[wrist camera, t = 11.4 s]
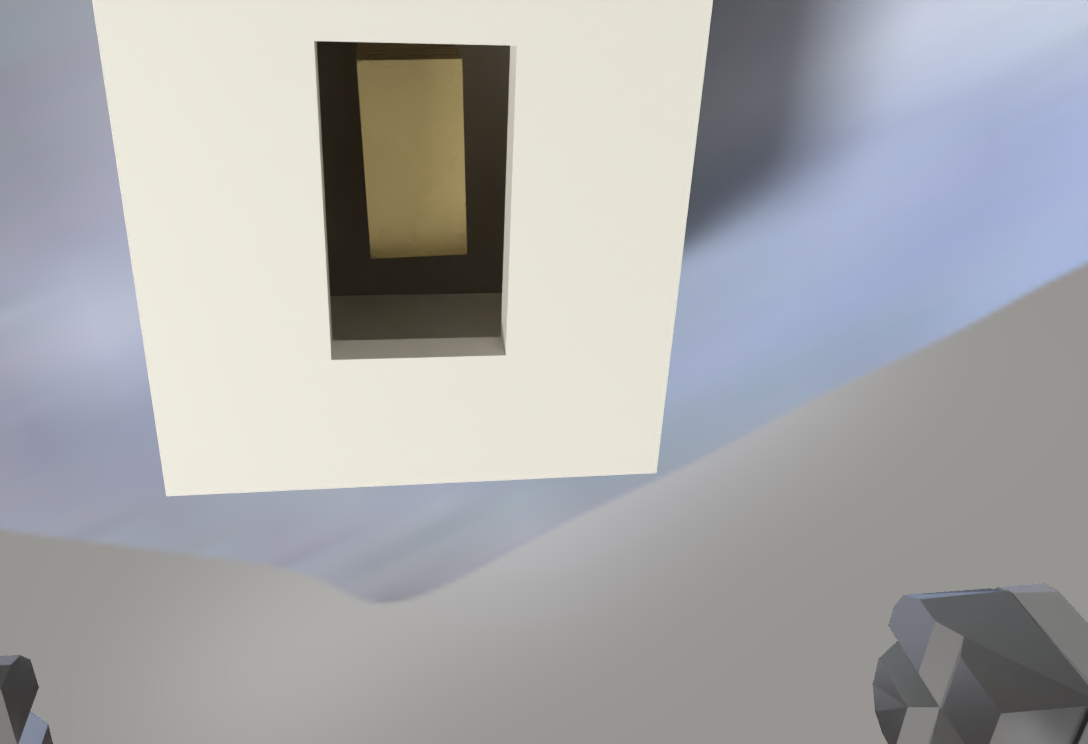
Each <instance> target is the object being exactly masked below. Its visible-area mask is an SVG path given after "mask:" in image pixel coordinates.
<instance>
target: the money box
mask: <svg viewBox="0 0 1088 744" xmlns="http://www.w3.org/2000/svg"><path fill="white" fill-rule="evenodd" d="M92 3H93V9H94V16H95V23H96V29H97V36H98V43H99V49H100V56H101V63H102V69H103V76H104V83H105V89H106V96H107V103H108V109H109V116H110V123H111V129H112V136H113V143H114V149H115V156H116V163H117V170H118V176H119V183H120V190H121V196H122V203H123V210H124V216H125V223H126V230H127V236H128V243H129V250H130V256H131V263H132V270H133V276H134V283H135V290H136V296H137V303H138V310H139V316H140V323H141V330H142V336H143V343H144V350H145V357H146V363H147V370H148V377H149V383H150V390H151V397H152V403H153V410H154V417H155V423H156V430H157V437H158V443H159V450H160V457H161V463H162V470H163V477H164V483H165V490H166V496H182V495H203V494H224V493H245V492H266V491H287V490H308V489H329V488H350V487H371V486H392V485H413V484H434V483H455V482H476V481H497V480H518V479H539V478H560V477H581V476H602V475H623V474H644V473H656V472H657V463H658V455H659V447H660V438H661V430H662V422H663V413H664V405H665V397H666V388H667V380H668V372H669V363H670V355H671V347H672V338H673V330H674V322H675V313H676V305H677V297H678V288H679V280H680V272H681V263H682V255H683V247H684V238H685V230H686V222H687V213H688V205H689V197H690V189H691V180H692V172H693V164H694V155H695V147H696V139H697V130H698V122H699V114H700V105H701V97H702V89H703V80H704V72H705V64H706V55H707V47H708V39H709V30H710V22H711V14H712V5H713V0H92ZM357 42H378V43H421V44H456V46H457V48H458V51H459V53H460V55H461V57H462V72H463V112H464V152H465V192H466V232H467V254H463V255H441V256H419V257H398V258H376V259H371V254H370V240H369V226H368V212H367V199H366V185H365V171H364V157H363V144H362V130H361V116H360V102H359V88H358V75H357V61H356V60H357Z"/></svg>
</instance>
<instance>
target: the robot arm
mask: <svg viewBox="0 0 1088 744" xmlns="http://www.w3.org/2000/svg"><path fill="white" fill-rule="evenodd" d="M888 626H889V627H890V629H891V631H892V632H893V634H894V636H895V637H896V639H897V640H898V641H897V642H896V643H895V644H894V645H893V646H892V647H891V648H890V649H889V650H887V651H886V653H884V654H883V655H882V656H881V657H880V658H879V660H878V664H877V668H876V672H875V677H874V681H873V693H874V704H875V713H876V716H877V719H878V722H879V725H880V728H881V731H882V733H883V735H884V737H885V739H886V741H887V743H888V744H1088V623H1087V622H1086V621H1085V620H1084V619H1083V618H1082V616H1081V615H1080V614H1079V613H1078V612H1077V611H1076V610H1075V609H1074V607H1073V606H1072V605H1071V604H1070V603H1069V602H1068V601H1067V600H1066V599H1065V597H1064V596H1063V595H1062V594H1061V593H1060V592H1059V591H1057V590H1056V589H1054V588H1052V587H1050V586H1048V585H1046V584H1044V583H1043V584H1032V585H1019V586H1007V587H997V588H995V589H989V588H988V589H975V590H963V591H949V592H936V593H923V594H910V595H903V596H902V598H901V599H900V600H899V601H898V602H897V603H896V604H895V606H894V608H893V611H892V615H891V618H890V621H889V625H888ZM38 688H39V686H38V683H37V679H36V676H35V673H34V670H33V666H32V663H31V660H30V659H28V658H26V657H24V656H21V655H13V656H0V744H53V742H52V737H51V734H50V729H49V725H48V723H46V722H45V721H44V720H42V719H41V718H40V717H38V716H37V715H35V714H34V713H32V712H31V711H30V710H31V707H32V705H33V702H34V699H35V697H36V694H37V691H38Z"/></svg>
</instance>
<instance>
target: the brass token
mask: <svg viewBox="0 0 1088 744" xmlns="http://www.w3.org/2000/svg"><path fill="white" fill-rule="evenodd" d="M356 61H357V75H358V88H359V102H360V116H361V130H362V144H363V157H364V171H365V185H366V199H367V212H368V226H369V240H370V254H371V259H376V258H398V257H419V256H441V255H463V254H467V232H466V192H465V152H464V112H463V72H462V57H461V55H460V53H459V51H458V48H457V46H456V44H421V43H378V42H357V60H356Z"/></svg>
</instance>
